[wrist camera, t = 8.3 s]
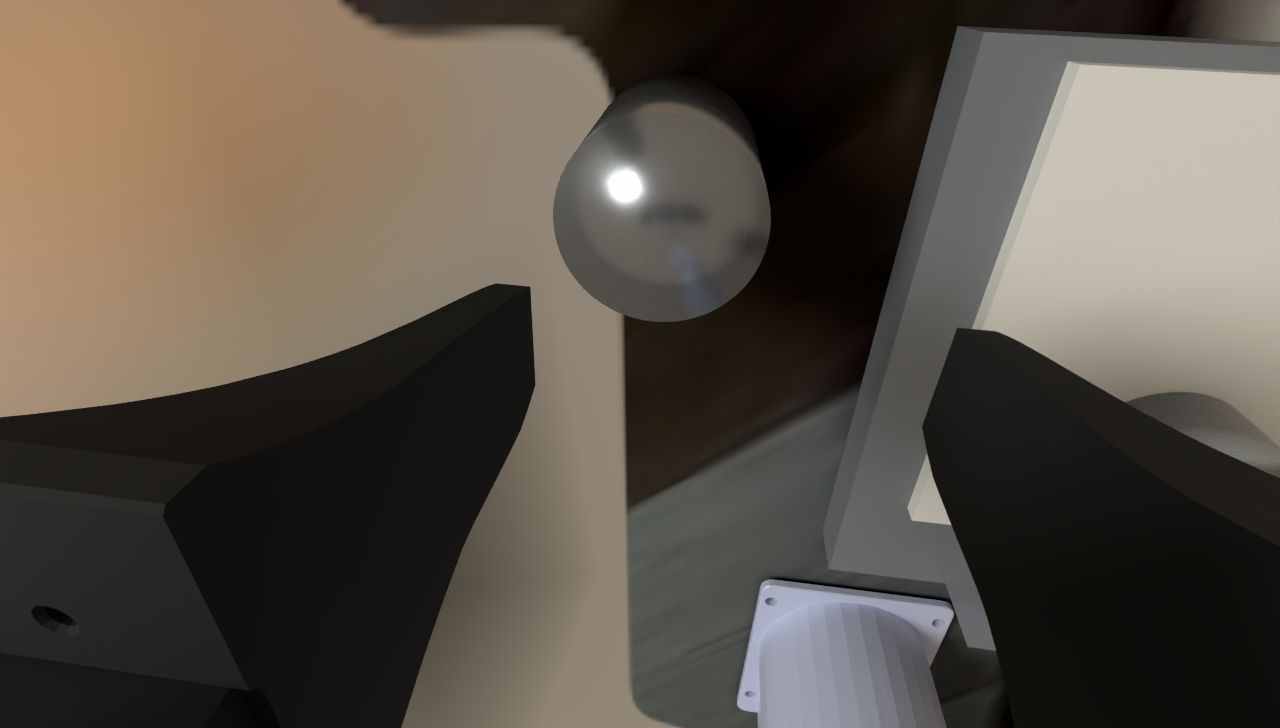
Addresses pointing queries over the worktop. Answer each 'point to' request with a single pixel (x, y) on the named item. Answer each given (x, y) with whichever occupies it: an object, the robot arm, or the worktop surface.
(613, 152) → the cylinder
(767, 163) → the worktop surface
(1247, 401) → the kitchen scale
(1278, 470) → the cylinder
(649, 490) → the worktop surface
